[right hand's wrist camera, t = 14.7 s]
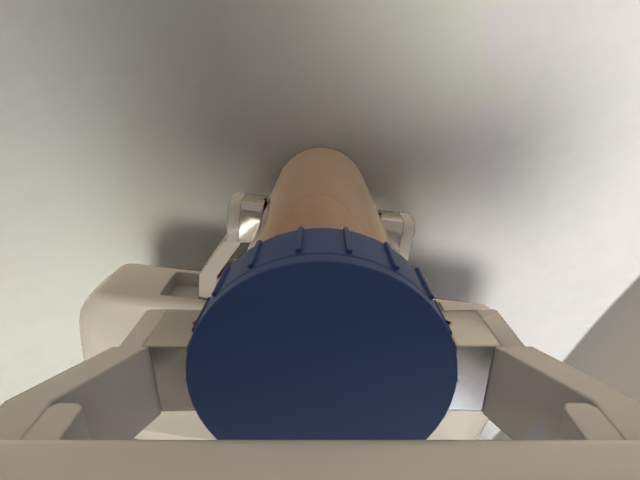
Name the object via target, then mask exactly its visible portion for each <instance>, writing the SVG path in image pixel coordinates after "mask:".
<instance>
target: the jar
mask: <svg viewBox="0 0 640 480" xmlns="http://www.w3.org/2000/svg"><path fill="white" fill-rule="evenodd" d="M300 226H303V228H304V229H309V228H334V229H343V228H344V227H348V228H349V231H352V232H356V233H360V234H363V235H366V236H368V237H371V238H374V239H376V240H378V241H380V242H382V243H385V241H387V242H388V243H390V246H391V248H392V249H393V250H395V249H394V247H393V245H392V242H391V240H390V238H389V235H388V233H387V231H386V229H385V226H384V224H383V222H382V220H381V217H380V215H379V213H378V211H377V208H376V206H375V204H374V202H373V199H372V197H371V195H370V192H369V190H368V188H367V186H366V183H365V181H364V179H363V177H362V174H361V172H360V170H359V169H358V167H357V166H356V164H355V163H354V162H353V161H352V160H351V159H350V158H349V157H347V156H346V155H345V154H343V153H341V152H339V151H337V150H334V149H330V148H311V149H308V150H304V151H302V152H300V153H298V154H297V155H295V156H294V157H292V158H291V159H290V160H289V161H288V162H287V163H286V164H285V166H284V167H283V169H282V171H281V172H280V175H279V177H278V179H277V182H276V184H275V186H274V189H273V191H272V193H271V196H270V198H269V200H268V203H267V205H266V207H265V210H264V212H263V214H262V217H261V219H260V221H259V224H258V226H257V228H256V231H255V233H254V235H253V238H252V240H251V242H250V245H249V247H248V249H247V251H248V250H249V249H251V248H252V247H254V246H255V244H256V242H257V241H258V240H260V239H261V241H262V242H263V241H265V240H267V239H269V238H272V237H274V236H277V235H279V234H283V233H287V232H291V231H295V230H298V227H300Z"/></svg>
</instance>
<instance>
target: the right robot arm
mask: <svg viewBox="0 0 640 480" xmlns="http://www.w3.org/2000/svg"><path fill="white" fill-rule="evenodd" d="M200 312H201V310H179V309H170V310H169V309H150V310H147V311H146V312H145V313H144V315H143V316H142V317H141V319H140V320H139V321H138V322H137V324H136V325H135V326H134V328H133V329H132V330H131V332H130V333H129V334H128V336H127V337H126V338H125V339H124V341H123V342H122V343H121V345H120V346H119V347H111V348H109V349H107V350H105V351H103V352H101V353H99V354H97V355H95V356H93V357H91V358H90V359H88V360H86V361H84V362H82V363H80V364H78V365H76V366H74V367H72V368H70V369H68V370H66V371H64V372H62V373H60V374H58V375H56V376H54V377H52V378H50V379H48V380H46V381H44V382H42V383H40V384H38V385H36V386H34V387H32V388H31V389H29V390H27V391H25V392H23V393H21V394H19V395H17V396H15V397H13V398H11V399H9V400H7V401H5V402H4V403H3V404H2V405H1V406H0V480H640V401H638V400H636V399H634V398H632V397H630V396H628V395H626V394H624V393H622V392H620V391H618V390H616V389H614V388H612V387H610V386H608V385H606V384H604V383H602V382H600V381H598V380H596V379H594V378H592V377H590V376H588V375H586V374H585V373H582V372H581V371H578V370H577V369H575V368H573V367H571V366H569V365H567V364H565V363H563V362H561V361H559V360H557V359H555V358H553V357H551V356H549V355H547V354H545V353H543V352H541V351H539V350H537V349H535V348H533V347H525V346H524V345H523V343H522V342H521V341H520V339H519V338H518V337H517V336H516V334H515V333H514V332H513V331H512V329H511V328H510V327H509V325H508V324H507V323H506V322H505V320H504V319H503V318H502V316H501V315H500V314H499V313H498V311H496V310H494V309H477V310H441V312H442V313H443V315H444V317H445V319H446V321H447V323H448V325H449V327H450V329H451V331H452V335H451V337H452V340H453V343H454V345H455V350H456V356H457V368H458V376H457V382H456V389H455V393H454V396H453V399H452V402H451V405H450V407H449V409H448V411H479V412H483V414H484V415H485V416H486V417H487V418H488V419H490V420H491V421H492V422H493V423H494V424H495V425H496V426H497V427H499V428H500V429H501V430H502V431H503V432H504V433H505V434H506V435H508V436H509V437H510V438H511V439H512V440H132V439H133V438H134V437H136V436H137V435H138V434H139V433H140V432H141V431H142V430H143V429H145V428H146V427H147V426H148V425H149V424H150V423H151V422H152V421H153V420H155V419H156V418H157V417H158V416H159V415H160V414H161V412H165V411H196V410H195V409H194V407H193V404H192V401H191V398H190V395H189V392H188V387H187V381H186V357H187V351H188V346H189V343H190V341H191V338H192V335H193V332H192V328H193V326H194V324H195V322H196V320H197V318H198V316H199V314H200Z"/></svg>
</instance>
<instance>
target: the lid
mask: <svg viewBox="0 0 640 480" xmlns="http://www.w3.org/2000/svg"><path fill="white" fill-rule="evenodd" d="M211 295H212V296H211V297H208V299H207V300H206V302H205V304H204V306H203V308H202V310H201V312H200V314H199V316H198V318H197V320H196V322H195V324H194V326H193V328H192V332H193V335H192V338H191V341H190V343H189V346H188V351H187V357H186V381H187V387H188V392H189V395H190V398H191V401H192V404H193V407H194V409H195V410H196V412H197V414H198V416H199V418H200V420H201V421H202V422H203V424H204V425H205V427H206V428H207V429H208V431H209V432H210V433H211V434H212V435H213V436H214V437H215V438H216V439H217V440H426V439H427V438H428V437H429V436H430V435H431V434H432V433H433V432H434V431H435V429H436V428H437V427H438V425H439V424H440V423H441V421H442V420H443V418H444V417H445V415H446V413H447V411H448V409H449V407H450V405H451V402H452V399H453V396H454V393H455V389H456V382H457V376H458V368H457V356H456V350H455V345H454V343H453V340H452V337H451V335H452V331H451V329H450V327H449V325H448V323H447V321H446V319H445V317H444V315H443V313H442V312H441V310H440V308H439V306H438V304H437V302H436V300H433V299H434V296H433V294H432V292H431V290H430V288H429V286H428V284H427V282H426V280H425V279H424V277H423V275H422V273H421V271H420V269H419V268H418V267H417V268H415V269H414V267H413V266H412V265H411V264H410V263H409V262H408V261H407V260H406V259H405V258H404V257H403V256H402V255H400V254H399V253H397V252H396V251H395V250H393V249H392V248H391V246H390V243H388V242H387V241H385V243H382V242H380V241H378V240H376V239H374V238H371V237H368V236H366V235H363V234H360V233H356V232H352V231H349V228H348V227H344V228H343V229H334V228H309V229H304V228H303V226H300V227H298V230H295V231H291V232H287V233H283V234H279V235H277V236H274V237H272V238H269V239H267V240H265V241H263V242H262V241H261V239H260V240H258V241H257V242H256V244H255V246H254V247H252V248H251V249H249V250H248V251H247V252H245V253H244V254H243V255H241V256H240V257H239V258H238V259H237V260H236V261H235V262H234V263H233V264H232V265H231V266H229V265H228V264H227V266H226V267H225V268H224V270H223V272H222V274H221V276H220V278H219V280H218V282H217V284H216V286H215V288H214V290H213V292H212V294H211Z"/></svg>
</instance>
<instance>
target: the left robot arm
mask: <svg viewBox="0 0 640 480" xmlns="http://www.w3.org/2000/svg"><path fill="white" fill-rule="evenodd" d="M267 203H268V196H262V195H255V194H248V193H242V192H235V193H234V194H233V195H232V197H231V198H230V201H229V206H228V217H227V234H226V235H225V237H224V238H223V239H222V241H221V242H220V244H219V245H218V246H217V248H216V249H215V251H214V252H213V253H212V255H211V256H210V258H209V259H208V261H207V263H206V264H205V266H204V267H203V269H202V271H193V270H184V269H175V268H167V267H158V266H149V265H142V264H125V265H123V266H121V267H120V268H119V269H117V270H116V271H115V272H114V273H112V274H111V275H110V276H109V277H107V278H106V279H105V280H104V281H103V282H102V283H101V284H100V285H99V286H98V287H97V288H96V289H95V290H94V291H93V292H92V293H91V294H90V295H89V297H88V298H87V299H86V301H85V302H84V304H83V306H82V308H81V311H80V321H79V323H80V336H81V343H82V350H83V356H84V361H86V360H88V359H90V358H91V357H93V356H95V355H97V354H99V353H101V352H103V351H105V350H107V349H109V348H111V347H119V346H120V345H121V343H122V342H123V341H124V339H125V338H126V337H127V336H128V334H129V333H130V332H131V330H132V329H133V328H134V326H135V325H136V324H137V322H138V321H139V320H140V319H141V317H142V316H143V315H144V313H145V312H146V311H147V310H150V309H169V310H170V309H179V310H202V308H203V306H204V304H205V302H206V300H207V299H208V297H211V296H212V295H211V294H212V292H213V290H214V288H215V286H216V284H217V282H218V280H219V278H220V276H221V274H222V272H223V270H224V268H225V267H226V266H227V264H228V265H229V266H231V265H232V264H233V263H234V262H235V261H236V260H237V259H235V258H231V256H232V255H233V254H234V252H235V251H236V250H237V248H238V247H239V246H240V244H241V243H242V242H243V243H250V242H251V240H252V238H253V235H254V233H255V231H256V228H257V226H258V224H259V221H260V219H261V217H262V214H263V212H264V210H265V207H266V205H267ZM377 211H378V213H379V215H380V217H381V220H382V222H383V224H384V226H385V229H386V231H387V233H388V235H389V238H390V240H391V242H392V245H393V247H394V249H395V251H396V252H397V253H399V254H400V255H402V256H403V257H404V258H405V259H406V260H407V261H408V262H409V263H410V261H409V259H408V258H409V254H410V249H411V245H412V241H413V236H414V232H415V222H414V220H413V218H412V217H411V215H410V214H408V213H400V212H392V211H383V210H377ZM410 264H411V263H410ZM433 300H436V302H437V304H438V306H439V308H440V310H477V309H489V308H488V307H487V306H485V305H482V304H477V303H468V302H460V301H451V300H442V299H433ZM488 420H489V419H488V418H487V417H486V416H485V415H484V414H483V412H479V411H447V413H446V415H445V417H444V418H443V420H442V421H441V423H440V424H439V425H438V427H437V428H436V429H435V431H434V432H433V433H432V434H431V435H430V436H429V437H428V438H427V439H426V440H478V439H479V437H480V434H481V432H482V429H483V428H484V426H485V425H486V423H487V422H488ZM132 440H217V439H216V438H215V437H214V436H213V435H212V434H211V433H210V432H209V431H208V429H207V428H206V427H205V425H204V424H203V422H202V421H201V420H200V418H199V416H198V414H197V412H196V411H165V412H161V414H160V415H159V416H158V417H157V418H156V419H155V420H153V421H152V422H151V423H150V424H149V425H148V426H147V427H146V428H145V429H143V430H142V431H141V432H140V433H139V434H138V435H137V436H136V437H134V438H133V439H132Z"/></svg>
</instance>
